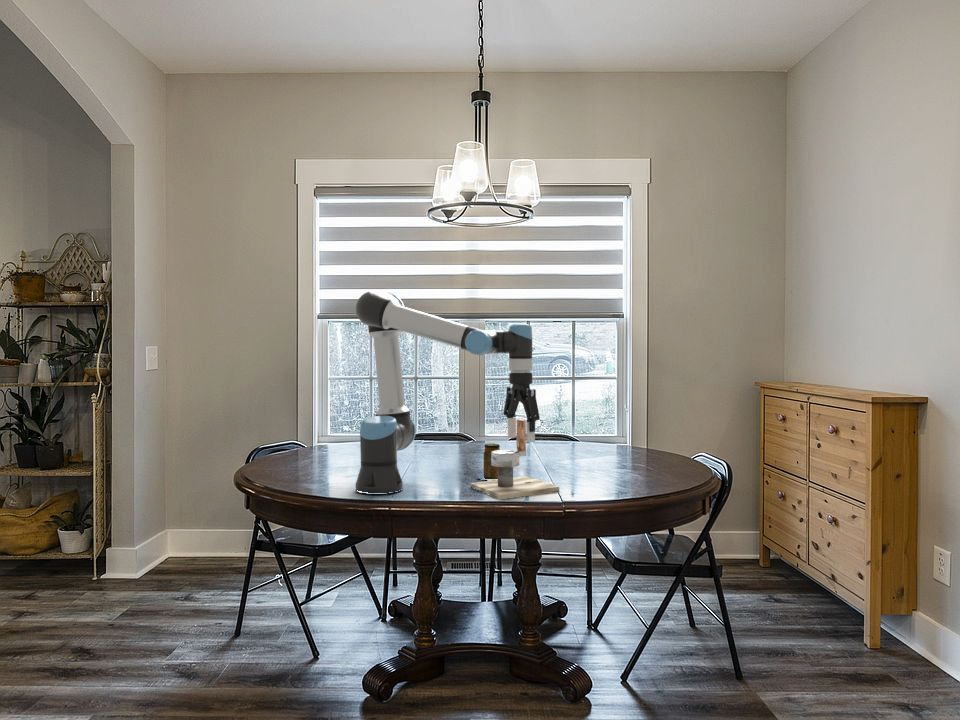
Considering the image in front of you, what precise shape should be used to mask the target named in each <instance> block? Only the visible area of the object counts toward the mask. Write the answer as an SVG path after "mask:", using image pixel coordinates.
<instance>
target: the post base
mask: <svg viewBox="0 0 960 720" xmlns="http://www.w3.org/2000/svg"><path fill="white" fill-rule="evenodd" d="M469 487H472V488H475V489H477V490H480V491H482V492H484V493H483V494H485V493H486V494H485V495H487V494H489V495H488V496H490V495H491V496H490V497H492V496H493V497H492V498H495V497H496V498H495V499H497V498H498V499H497V500H500V501H501V499H502V500H507V498H509V499H515V498H514V497H516V498H521V497H522V496H523V497H527V496H528V497H529V495H530V496H536V494H537V495H541V494H543V493H544V494H549V492H551V493H556V491H558V492H560V485H559V486H558V485H556V484H552V483H550V482H546V481H543V480H539V479H536V478H534V477H530V476H527V475H526V476H525V475H524V476H518V477H514V467H498V480H493V481H479V482H477V481H476V482H470V485H469ZM472 488H471V489H472ZM475 489H474V490H475ZM477 490H476V491H477ZM480 491H479V492H480ZM482 492H481V493H482ZM523 497H522V498H523Z"/></svg>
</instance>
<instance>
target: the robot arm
mask: <svg viewBox="0 0 960 720" xmlns="http://www.w3.org/2000/svg"><path fill="white" fill-rule="evenodd" d="M355 313H356V314H355V315H357V318H358V320H359V321H360V322H361V323H362V324H364V325H366V326H367V330H368V334H369V335H370V336H371V337H372V339H373V346H374V358H375V359H374V361H375V369H376V380H377V391H378V392H377V393H378V402H379V408H378V410H377V411H376V412H375V416H370V417H367V418H364V419H363V420H362V421H361V422H360V428H359V436H360V437H359V443H360V468H359V471H358V475H357V478H356V480H355V481H356V482H355V485H354V486H355V488H356V489H355V491H356V490H358V491H362V492H368V493H389V492H395V491H399V490H401V489H404V487H403V485H404V484H403V480H402V477H401V474H400V471H399V468H398V451H402V450H404V449H406V448H407V447H409V446H410V445H411V444H412V443H413V441H414V440H415V437H416V433H417V427H416V424H415V422H414V420H413V419H412V418H411V411H410V409H409V408H408V407H407V406H406V405H405V404H406V403H405V392H404V382H403V369H402V357H401V349H400V348H401V346H400V335H401V334H402V333H403V332H405V333H408V334H411V335H414V336H417V337H421V338H424V339H427V340H431V341H435V342H438V343H441V344H444V345H448V346H451V347H453V348H458V349H461V350H463V351H466V352H469V353H470V354H472V355H477V356H483V355H489V354H490V355H491V354H493V355H494V354H508V355H509V356H508V358H509V359H508V371H510V373H508V374H509V375H508V378H509V379H508V380H509V382H508V383H509V384H510V385H512V386H507V387H506V397H505V402H504V409H503V416H505V417H506V418H507V438H508V439H513V438H517V418H516V417H517V415H516V413H517V410H518V407H519V404H520V403H521V404H522V406H523V410H524V412H525V415H526V418H527V419H526V443H534V442H536V435H535V434H536V422H537V421H539V420H540V412H539V408H538V401H537V392H536V391H537V390H536V389H535V388H530V385H532V383H533V372H531V371H533V339H534V338H533V330H532V329H533V327H532V325H531V324H528V323H527V324H526V323H525V324H524V323H519V324H517V323H516V324H515V323H514V324H513V323H511V324H508V325H509V326H508V329H507V330H484V329H480V328H477V327H472V326H469V325H466V324H463V323H459V322H456V321H452V320H449V319H446V318H443V317H441V316H440V317H439V316H437V315H433V314H429V313H426V312H423V311H419V310H416V309H413V308H409V307H406V306H405V304H404V301H402V299H401V298H400V297H398V296H397V295H395V294H393V293H391V292H382V291H377V290H370V291H366V292H364V293H363V294H362V295H360V297H359V298H358V300H357V301H356V304H355Z"/></svg>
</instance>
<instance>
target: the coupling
mask: <svg viewBox="0 0 960 720" xmlns="http://www.w3.org/2000/svg"><path fill="white" fill-rule="evenodd" d="M526 421H527V419H516V450H515V449H513V450H512V449H500V450H496V451H492V452H491V465H492V466H495V467H513V468H516V467H518V466H520V458H521V457H527V442H526Z"/></svg>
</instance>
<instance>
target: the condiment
mask: <svg viewBox="0 0 960 720" xmlns="http://www.w3.org/2000/svg"><path fill="white" fill-rule="evenodd" d="M500 447H501V446H500V444H499V443H485V444H484V451H483V455H482V456H483V457H482V459H483V476H484V478H485V479H498V467H495V466H492V465H491V452H492V451H496V450H501V449H500ZM483 476H482V477H483Z"/></svg>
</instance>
